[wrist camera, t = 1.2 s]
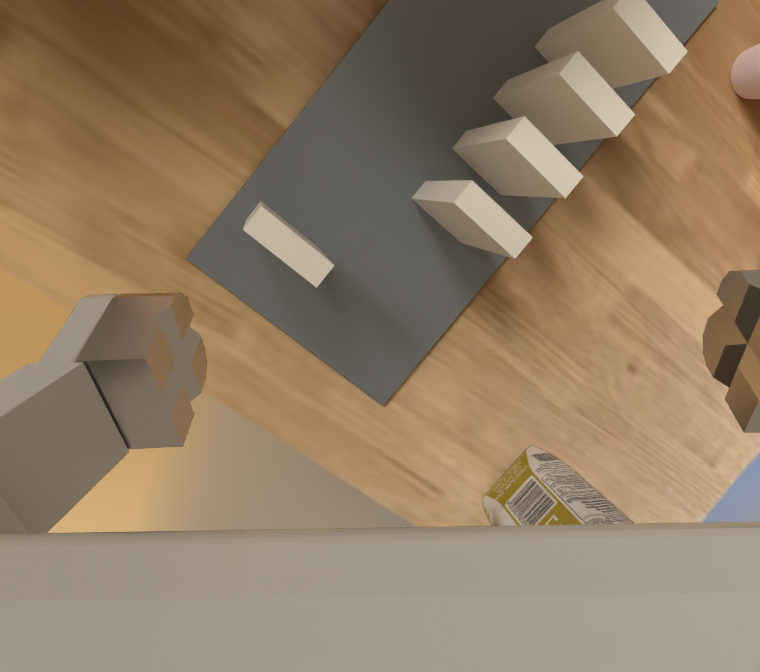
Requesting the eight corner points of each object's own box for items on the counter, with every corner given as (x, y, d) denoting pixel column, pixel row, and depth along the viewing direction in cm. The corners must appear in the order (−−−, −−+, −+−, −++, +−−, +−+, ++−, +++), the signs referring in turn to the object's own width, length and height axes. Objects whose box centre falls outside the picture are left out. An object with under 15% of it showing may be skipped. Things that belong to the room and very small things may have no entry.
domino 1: (534, 46, 43) (613, 8, 33) (549, 28, 43) (632, -16, 33) (580, 97, 44) (669, 73, 35) (595, 79, 44) (687, 51, 35)
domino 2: (492, 98, 43) (558, 74, 34) (507, 80, 43) (578, 50, 34) (540, 146, 45) (616, 136, 35) (554, 129, 45) (635, 114, 35)
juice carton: (465, 500, 51) (633, 757, 28) (528, 429, 51) (751, 632, 28) (538, 557, 54) (745, 833, 31) (599, 490, 53) (855, 720, 31)
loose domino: (246, 219, 42) (242, 229, 32) (260, 200, 42) (261, 206, 32) (303, 264, 44) (316, 287, 34) (318, 247, 43) (334, 265, 34)
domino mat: (186, 258, 42) (185, 258, 42) (551, -206, 40) (553, -209, 39) (382, 404, 48) (383, 405, 47) (714, 3, 45) (718, 2, 45)
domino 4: (411, 198, 44) (453, 202, 34) (425, 180, 44) (472, 180, 34) (460, 242, 45) (515, 259, 36) (475, 226, 45) (532, 237, 36)
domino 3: (451, 148, 44) (505, 138, 34) (466, 130, 43) (524, 116, 34) (500, 195, 45) (565, 198, 35) (514, 177, 45) (583, 176, 35)
